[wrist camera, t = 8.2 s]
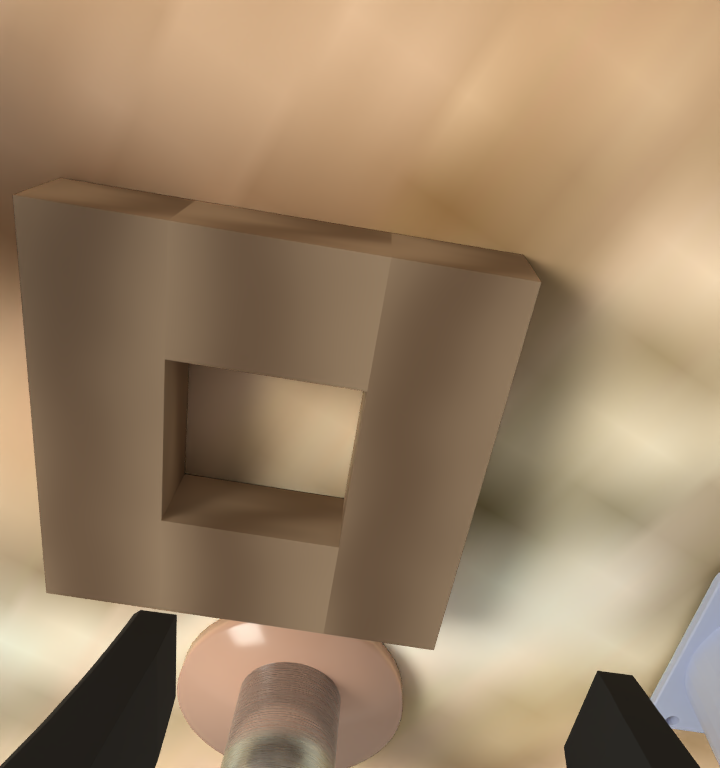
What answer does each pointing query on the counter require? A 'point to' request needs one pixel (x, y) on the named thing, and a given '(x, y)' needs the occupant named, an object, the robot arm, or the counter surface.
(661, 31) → the counter surface
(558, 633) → the counter surface
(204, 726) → the coaster
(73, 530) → the pocket block
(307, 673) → the round metal peg
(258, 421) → the counter surface
